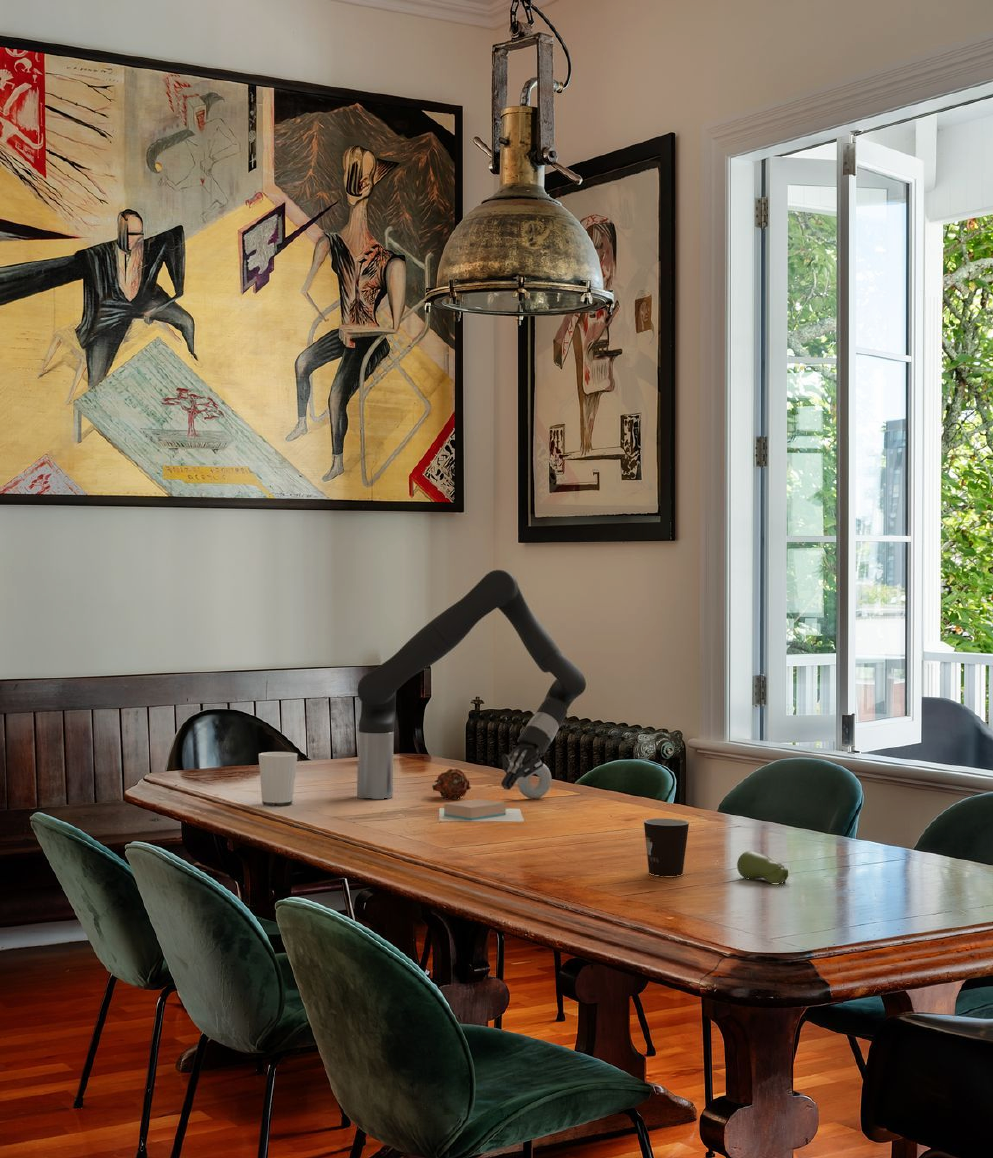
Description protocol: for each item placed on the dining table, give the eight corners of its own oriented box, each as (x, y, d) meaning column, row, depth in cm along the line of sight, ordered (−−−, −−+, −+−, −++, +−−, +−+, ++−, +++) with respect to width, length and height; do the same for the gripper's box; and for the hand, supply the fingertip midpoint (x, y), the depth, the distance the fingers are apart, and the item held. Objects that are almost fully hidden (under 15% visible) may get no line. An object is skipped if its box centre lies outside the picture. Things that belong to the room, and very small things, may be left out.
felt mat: (439, 822, 320) (439, 820, 320) (439, 809, 339) (439, 807, 340) (524, 822, 320) (524, 821, 320) (519, 810, 340) (519, 808, 340)
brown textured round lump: (463, 807, 354) (438, 808, 364) (483, 786, 359) (458, 787, 368) (445, 782, 352) (420, 783, 362) (466, 761, 357) (441, 763, 366)
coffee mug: (687, 879, 256) (688, 826, 256) (641, 877, 258) (642, 824, 258) (689, 868, 268) (690, 817, 268) (645, 865, 269) (646, 815, 269)
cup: (293, 807, 340) (294, 756, 340) (254, 806, 339) (255, 755, 340) (299, 801, 349) (300, 752, 350) (261, 801, 349) (261, 751, 350)
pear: (749, 846, 262) (795, 861, 255) (744, 872, 262) (790, 889, 256) (734, 849, 257) (781, 865, 251) (729, 876, 258) (776, 893, 251)
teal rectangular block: (478, 798, 335) (444, 803, 327) (505, 802, 329) (471, 807, 321) (478, 810, 335) (444, 815, 327) (505, 815, 329) (471, 820, 320)
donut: (547, 797, 365) (548, 759, 365) (553, 798, 362) (554, 761, 362) (514, 798, 360) (514, 761, 360) (520, 800, 357) (520, 762, 357)
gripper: (512, 722, 347) (478, 775, 338) (551, 726, 338) (517, 780, 329) (526, 742, 351) (493, 794, 342) (565, 746, 342) (532, 799, 333)
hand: (505, 787), depth 335 cm, fingers closed
